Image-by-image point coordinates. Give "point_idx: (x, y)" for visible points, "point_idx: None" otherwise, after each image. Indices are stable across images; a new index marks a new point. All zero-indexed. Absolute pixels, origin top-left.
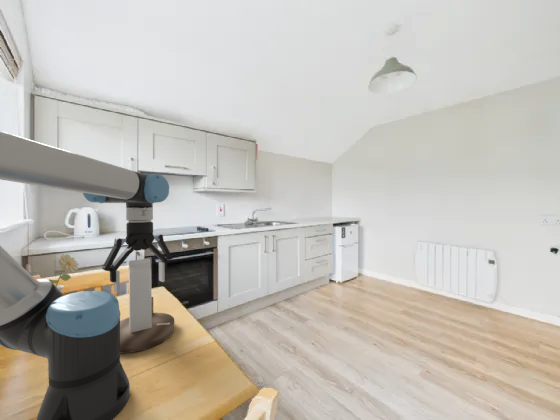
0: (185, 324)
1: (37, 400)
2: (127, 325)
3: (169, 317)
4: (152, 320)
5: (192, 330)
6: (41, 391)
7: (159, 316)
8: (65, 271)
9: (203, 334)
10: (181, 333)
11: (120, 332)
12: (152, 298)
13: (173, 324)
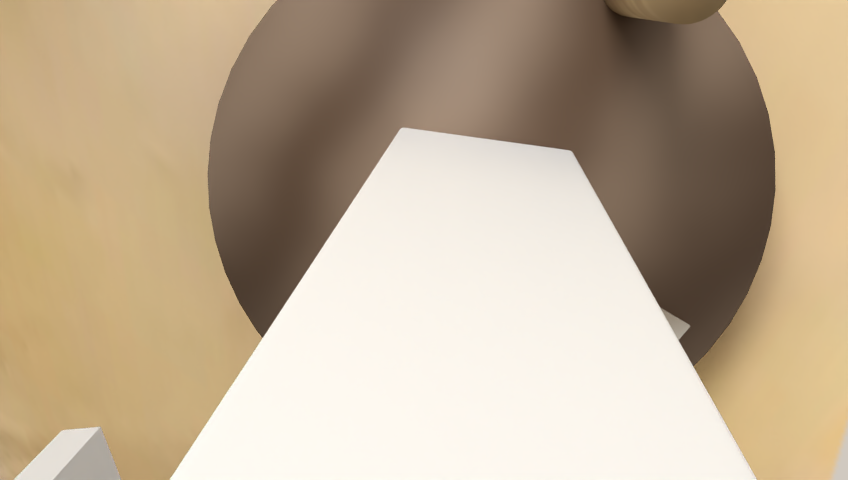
0: (823, 254)
1: (15, 462)
2: (386, 115)
3: (740, 212)
4: (594, 165)
5: (801, 380)
6: (10, 413)
7: (679, 121)
8: None
9: (820, 477)
10: (718, 366)
11: (322, 215)
12: (708, 14)
13: (702, 351)
